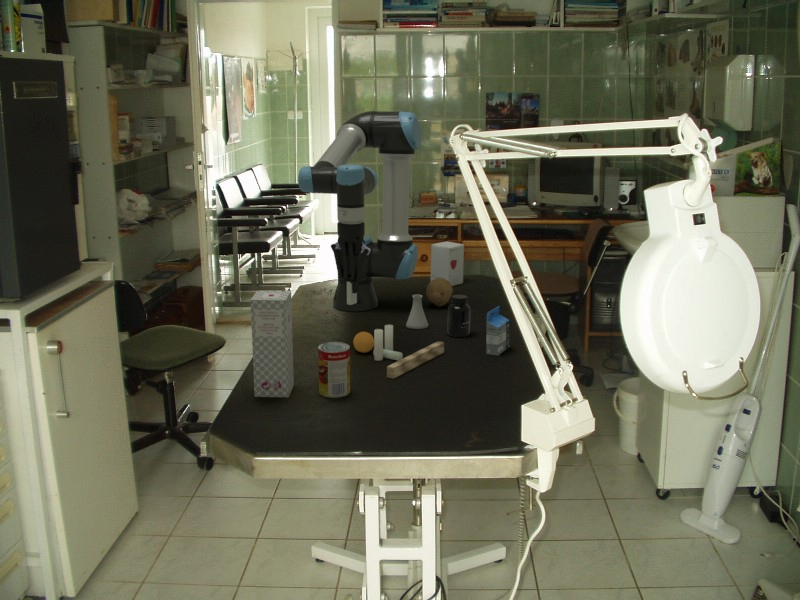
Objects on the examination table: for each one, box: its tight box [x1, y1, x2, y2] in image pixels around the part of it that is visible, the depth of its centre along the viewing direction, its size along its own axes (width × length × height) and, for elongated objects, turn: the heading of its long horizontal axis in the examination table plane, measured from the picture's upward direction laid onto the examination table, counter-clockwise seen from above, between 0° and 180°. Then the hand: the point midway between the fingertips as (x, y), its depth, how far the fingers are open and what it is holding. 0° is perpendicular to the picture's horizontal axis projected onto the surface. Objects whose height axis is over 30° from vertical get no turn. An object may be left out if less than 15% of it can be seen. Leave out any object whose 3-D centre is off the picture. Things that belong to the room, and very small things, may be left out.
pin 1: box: [373, 328, 384, 362], centre depth 245 cm, size 2×2×8 cm
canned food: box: [317, 341, 351, 399], centre depth 221 cm, size 8×8×12 cm
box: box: [250, 290, 295, 398], centre depth 219 cm, size 8×8×25 cm
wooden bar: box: [386, 340, 445, 380], centre depth 242 cm, size 26×2×3 cm, turn 146°
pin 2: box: [384, 324, 394, 351], centre depth 249 cm, size 2×2×8 cm
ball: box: [352, 331, 374, 354], centre depth 251 cm, size 6×6×6 cm
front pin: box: [372, 348, 404, 362], centre depth 247 cm, size 2×2×8 cm
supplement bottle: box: [447, 294, 471, 338], centre depth 267 cm, size 7×7×12 cm
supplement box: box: [430, 241, 465, 287], centre depth 327 cm, size 9×9×15 cm
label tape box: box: [485, 305, 511, 356], centre depth 252 cm, size 9×4×12 cm, turn 151°
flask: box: [405, 294, 429, 330], centre depth 275 cm, size 7×7×10 cm
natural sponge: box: [425, 278, 454, 308], centre depth 297 cm, size 9×9×10 cm
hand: (351, 303), depth 250 cm, fingers closed
